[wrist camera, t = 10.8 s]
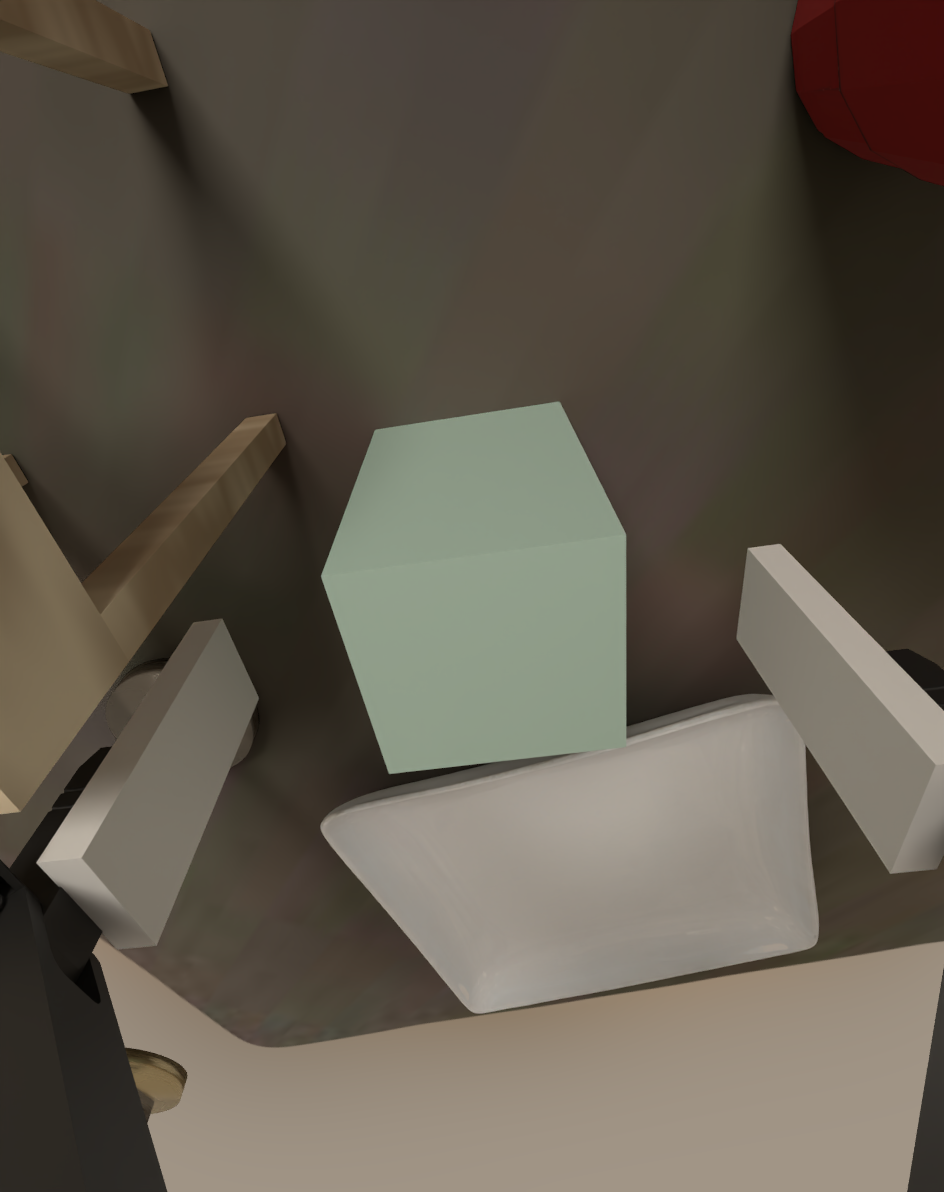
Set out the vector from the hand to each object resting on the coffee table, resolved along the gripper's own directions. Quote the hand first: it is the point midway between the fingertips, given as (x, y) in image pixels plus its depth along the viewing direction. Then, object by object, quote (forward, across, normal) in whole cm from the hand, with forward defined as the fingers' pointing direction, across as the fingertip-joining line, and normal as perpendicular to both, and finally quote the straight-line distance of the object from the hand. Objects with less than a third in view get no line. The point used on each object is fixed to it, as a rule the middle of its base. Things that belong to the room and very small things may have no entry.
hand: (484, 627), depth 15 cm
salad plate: (+8, +3, -20) cm, 22 cm away
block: (+7, 0, 0) cm, 7 cm away
